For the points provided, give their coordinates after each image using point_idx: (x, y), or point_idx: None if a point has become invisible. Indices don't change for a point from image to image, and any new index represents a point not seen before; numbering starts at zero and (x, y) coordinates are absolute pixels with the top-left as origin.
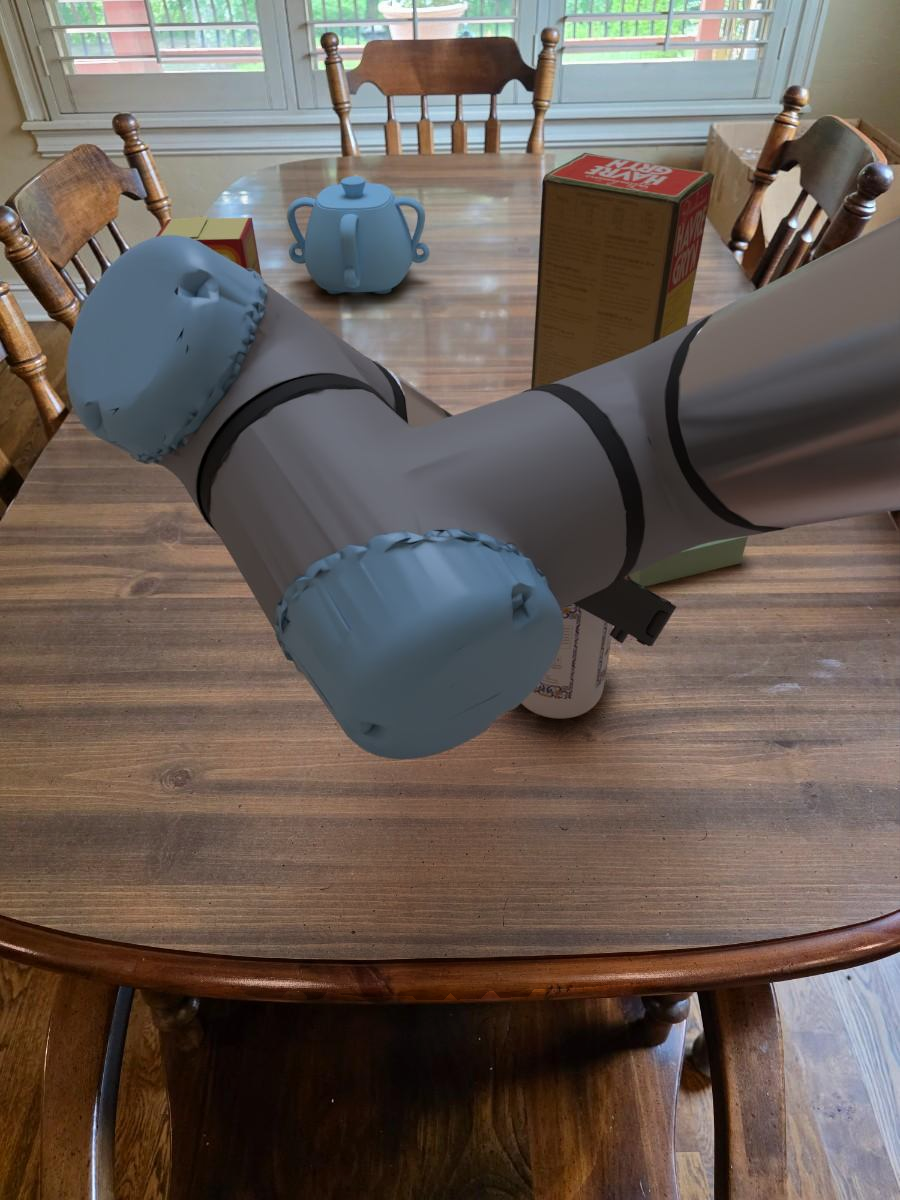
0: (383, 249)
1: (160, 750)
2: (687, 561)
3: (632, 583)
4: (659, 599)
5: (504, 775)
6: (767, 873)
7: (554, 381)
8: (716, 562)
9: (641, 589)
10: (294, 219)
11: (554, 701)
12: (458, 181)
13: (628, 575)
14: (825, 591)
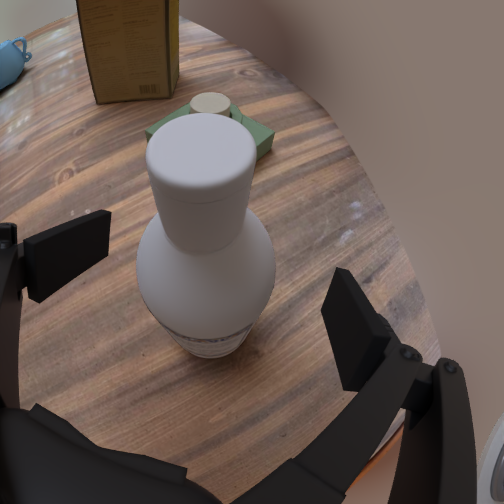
0: (7, 63)
1: None
2: None
3: (472, 429)
4: (466, 388)
5: (220, 421)
6: None
7: (104, 74)
8: (260, 154)
9: (471, 415)
10: None
11: (226, 353)
12: (47, 30)
13: None
14: (324, 154)
